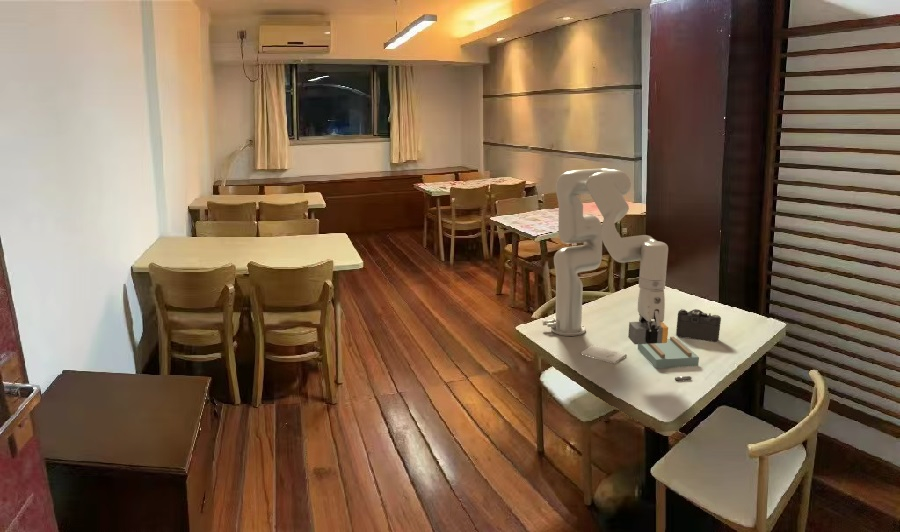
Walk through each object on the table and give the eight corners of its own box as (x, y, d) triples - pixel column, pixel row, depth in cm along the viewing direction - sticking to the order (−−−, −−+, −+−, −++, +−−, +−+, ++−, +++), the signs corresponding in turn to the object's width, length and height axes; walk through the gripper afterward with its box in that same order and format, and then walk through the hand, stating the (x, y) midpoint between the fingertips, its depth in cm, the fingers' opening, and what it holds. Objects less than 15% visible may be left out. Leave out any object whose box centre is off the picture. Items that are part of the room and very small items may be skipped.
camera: (720, 332, 231) (722, 306, 228) (718, 343, 221) (720, 316, 219) (678, 327, 237) (680, 301, 234) (675, 337, 227) (677, 311, 225)
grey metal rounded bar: (675, 381, 194) (675, 378, 194) (673, 380, 195) (674, 376, 195) (692, 380, 194) (692, 377, 194) (690, 379, 196) (690, 375, 195)
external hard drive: (593, 348, 221) (626, 357, 213) (581, 356, 215) (614, 365, 207) (593, 344, 220) (626, 353, 212) (581, 351, 215) (615, 361, 207)
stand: (655, 368, 203) (656, 356, 202) (637, 348, 218) (638, 337, 217) (698, 365, 204) (699, 353, 203) (677, 346, 219) (678, 335, 218)
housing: (634, 344, 192) (635, 329, 191) (628, 337, 198) (629, 322, 196) (666, 342, 193) (668, 327, 191) (659, 335, 198) (660, 320, 197)
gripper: (676, 291, 182) (670, 349, 187) (653, 273, 198) (648, 327, 204) (650, 292, 181) (645, 350, 187) (629, 274, 198) (625, 328, 203)
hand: (647, 338), depth 195 cm, fingers closed on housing, 5 cm apart
